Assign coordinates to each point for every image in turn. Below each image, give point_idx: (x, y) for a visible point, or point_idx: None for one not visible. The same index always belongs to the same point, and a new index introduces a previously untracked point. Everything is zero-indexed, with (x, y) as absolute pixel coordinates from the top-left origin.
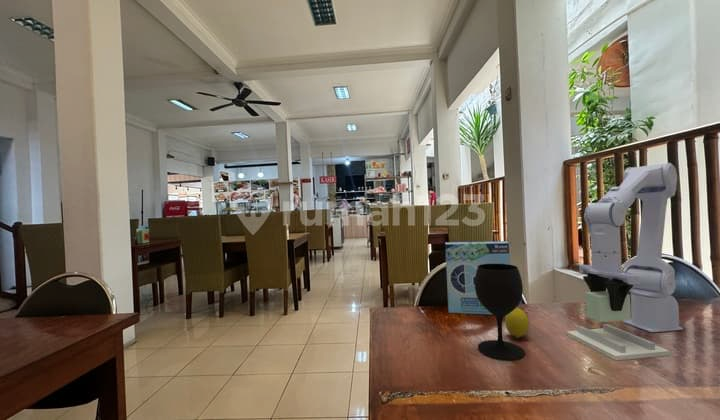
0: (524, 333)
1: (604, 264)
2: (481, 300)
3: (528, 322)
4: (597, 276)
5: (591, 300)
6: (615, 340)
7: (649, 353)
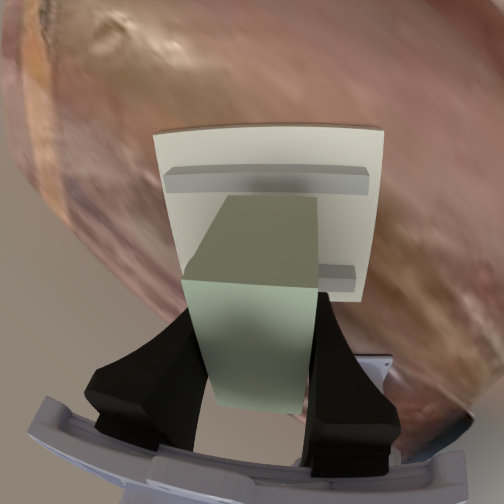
0: None
1: None
2: None
3: None
4: (310, 461)
5: (257, 254)
6: None
7: (174, 241)
